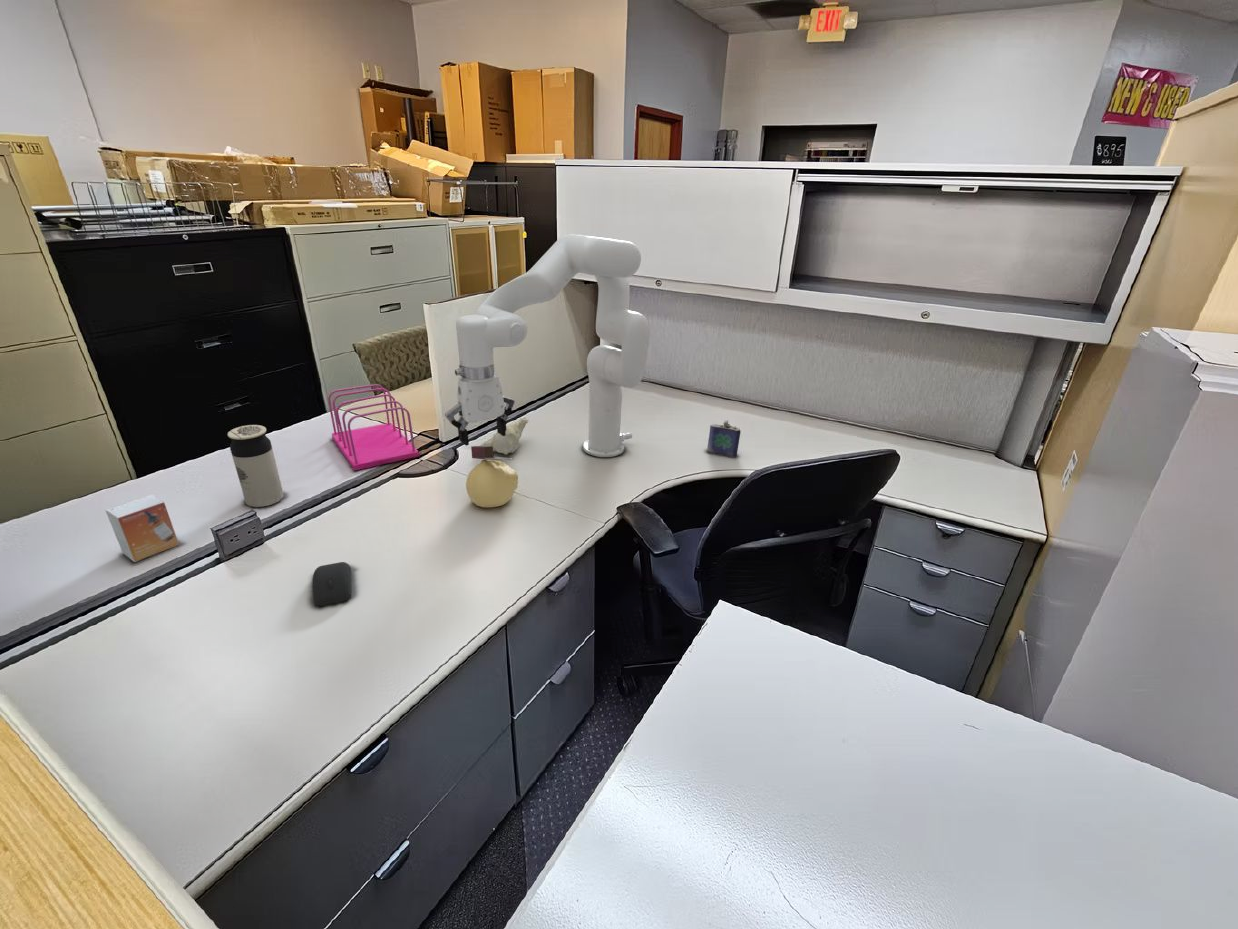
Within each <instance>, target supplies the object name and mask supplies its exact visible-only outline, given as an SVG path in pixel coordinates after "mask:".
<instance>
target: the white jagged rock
mask: <svg viewBox="0 0 1238 929" xmlns="http://www.w3.org/2000/svg"><path fill="white" fill-rule="evenodd" d="M528 423H529V419H528V417H527V416H525V417H523V418H520V419H519V420H518V421H515V422H514V423H512V424H510V425H506V431H505V433H506V435H505V436H502V435H501V434H499V433H498V432H497V431H496V432H495V433H494V434H493V436H492V437H491V438H489V439H487V440H486V441H484V442H483V443H481V444H480V446H493V452H497V453H500V454H504V455H505V456H506V455H509V454H510V453H512V454H515V451H516V450H517V449H518V448H519V447H520V446H521V443H520V439H521V437H522V433H523V431H524V429H525V428H526V425H527V424H528Z"/></svg>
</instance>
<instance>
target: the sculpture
mask: <svg viewBox="0 0 1238 929" xmlns="http://www.w3.org/2000/svg"><path fill="white" fill-rule="evenodd" d="M518 485H519V474H518V472H517V471H516V470H514V469H513V468H511V466H509V465H508V464H506V463H505V462H504V461H498V460H485V459H481V461H480V463H479V464H477V465H475V466H474V467H473V468H472V469H471V470H470V471H469V472H468V475H467V476H466V481H465V490H466V494H467V495H468V497H469V499H470V500H471V501H472V503H473V504H474V505H476V506H478V507H480V508H497V507H501V506H503V505H505V504H506V503H508V502H509V501H510V500H511V499H512V497H513V495H514V493H515V491H516V490H517V489H518Z"/></svg>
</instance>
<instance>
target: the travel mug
mask: <svg viewBox="0 0 1238 929" xmlns="http://www.w3.org/2000/svg"><path fill="white" fill-rule="evenodd" d="M266 434H267V428H266V427H265V426H263V425H259V424H247V425H241V426H238V427H235V428H233V429H231V430H230V431H228V432H227V437H228V438H229V439H230V441H231V443H230V446H229V449H230V450H229V451H230V454H231V457H232V460H233V464H234V467H235V470H236V474H237V477H238V481H239V484H240V488H241V491H242V495H243V498H244V501H245V505H247V506H249V507H255V508H258V507H259V508H261V507H268V506H271V505H274V504H277V503H278V502H280V501H281V500H283V498H284V496H285V492H284V489H283V484H282V482H281V478H280V474H279V470H278V466H277V462H276V458H275V453H274V450H273V445H272V441H271V440H270V438H269V437H268V436H267V435H266Z"/></svg>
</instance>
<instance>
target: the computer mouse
mask: <svg viewBox="0 0 1238 929" xmlns="http://www.w3.org/2000/svg"><path fill="white" fill-rule="evenodd" d="M351 597H352V568H351V566H350V564H349V563H347V562H346V561H340V562H334V563H329V564H322V565H320V566H318V567H317V568H316V569H314V571H313V575H312V598H313V603H314V605H315V606H317V607H325V606H326V607H327V606H330V605H335V604H340V603H344V602H347V601H349V600H350V599H351Z"/></svg>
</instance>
